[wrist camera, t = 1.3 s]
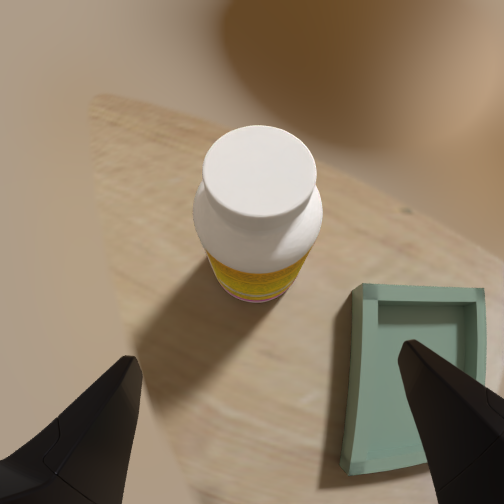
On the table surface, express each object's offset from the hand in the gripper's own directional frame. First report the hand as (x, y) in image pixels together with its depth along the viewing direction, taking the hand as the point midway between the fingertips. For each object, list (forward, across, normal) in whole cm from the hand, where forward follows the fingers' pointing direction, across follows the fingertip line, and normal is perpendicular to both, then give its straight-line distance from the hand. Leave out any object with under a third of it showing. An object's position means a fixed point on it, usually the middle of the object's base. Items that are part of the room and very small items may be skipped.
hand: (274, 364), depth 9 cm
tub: (+7, -13, +12) cm, 19 cm away
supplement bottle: (+15, 0, +4) cm, 15 cm away
